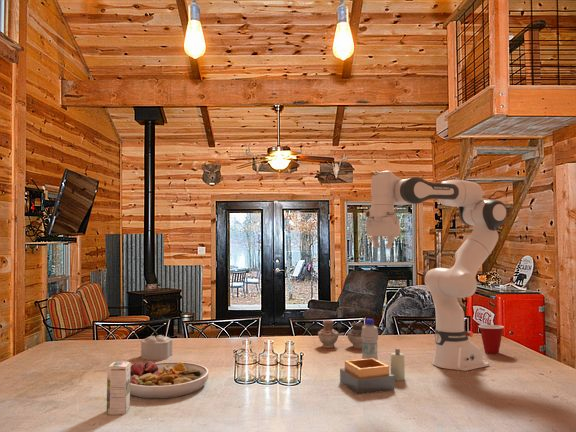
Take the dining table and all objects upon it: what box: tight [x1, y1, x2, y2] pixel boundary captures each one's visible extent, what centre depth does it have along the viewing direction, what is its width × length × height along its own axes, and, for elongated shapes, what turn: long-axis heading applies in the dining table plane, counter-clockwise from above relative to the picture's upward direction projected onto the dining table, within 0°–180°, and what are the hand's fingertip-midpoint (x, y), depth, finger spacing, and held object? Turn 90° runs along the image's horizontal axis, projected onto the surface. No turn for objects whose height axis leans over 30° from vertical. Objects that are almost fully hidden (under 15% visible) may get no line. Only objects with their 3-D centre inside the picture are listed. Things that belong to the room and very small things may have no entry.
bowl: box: [130, 360, 209, 399], centre depth 180 cm, size 30×30×8 cm
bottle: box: [361, 318, 379, 361], centre depth 200 cm, size 7×7×20 cm
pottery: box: [317, 320, 365, 349], centre depth 238 cm, size 11×25×12 cm, turn 87°
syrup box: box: [106, 361, 132, 416], centre depth 156 cm, size 6×6×14 cm
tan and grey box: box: [339, 358, 395, 395], centre depth 179 cm, size 14×14×8 cm
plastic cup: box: [478, 324, 505, 355], centre depth 226 cm, size 11×11×12 cm
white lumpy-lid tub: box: [140, 334, 173, 361], centre depth 221 cm, size 10×13×9 cm
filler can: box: [390, 347, 406, 382], centre depth 187 cm, size 5×5×11 cm
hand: (382, 248), depth 197 cm, fingers open, 8 cm apart
